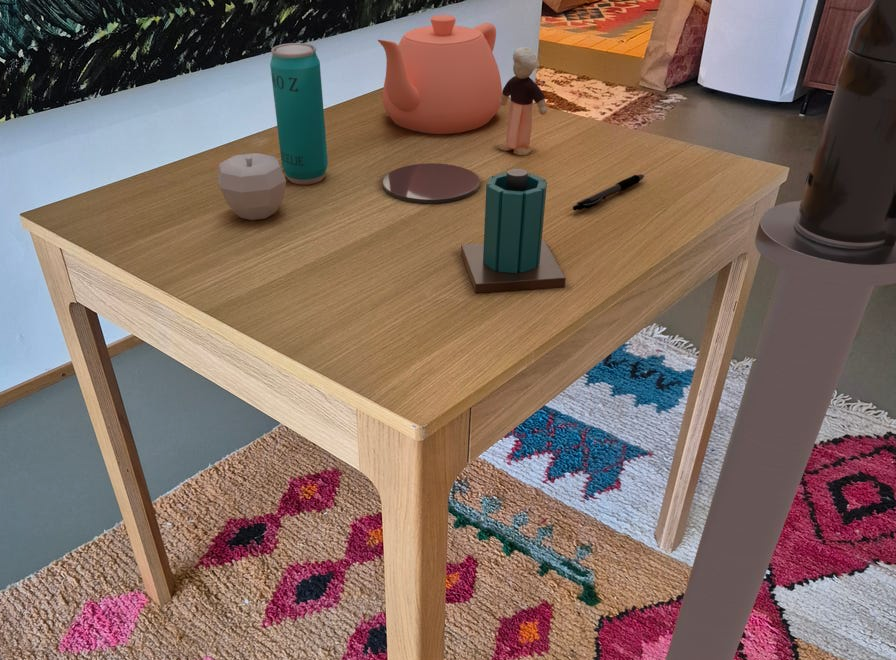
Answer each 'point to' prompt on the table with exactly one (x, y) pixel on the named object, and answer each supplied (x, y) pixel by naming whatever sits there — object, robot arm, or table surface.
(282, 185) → the apple
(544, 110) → the grandmother figurine
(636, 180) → the pen
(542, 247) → the holder
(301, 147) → the beverage can
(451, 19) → the teapot
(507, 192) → the teal octagonal tube
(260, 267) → the table surface
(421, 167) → the slate coaster
